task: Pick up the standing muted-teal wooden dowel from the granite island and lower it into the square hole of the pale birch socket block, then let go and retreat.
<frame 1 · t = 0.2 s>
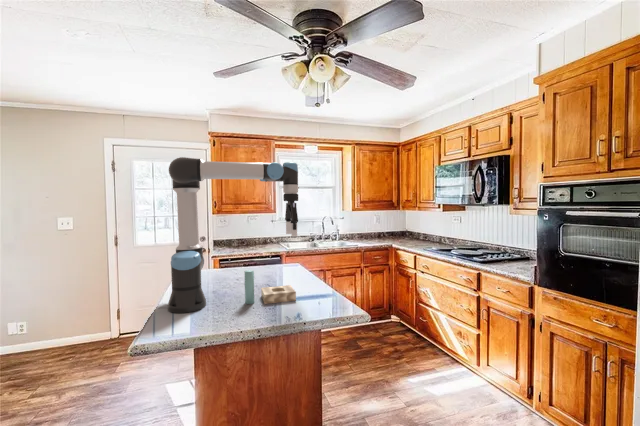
hand: (291, 235, 161), 27 cm above the countertop, fingers open, 13 cm apart
dowel: (249, 302, 140), on the countertop
socket block: (278, 298, 146), on the countertop
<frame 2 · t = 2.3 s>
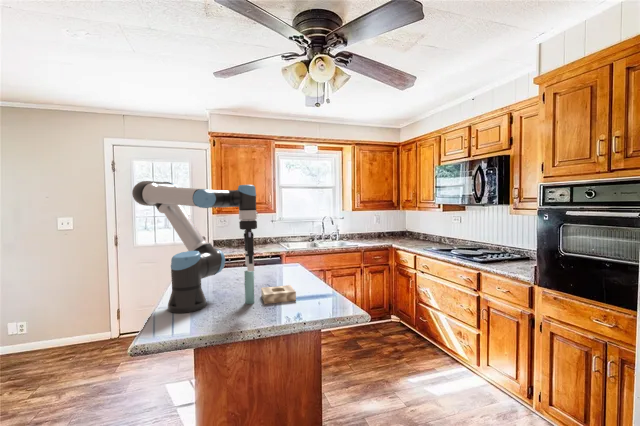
hand: (249, 268, 140), 15 cm above the countertop, fingers open, 13 cm apart
nothing on the countertop moved.
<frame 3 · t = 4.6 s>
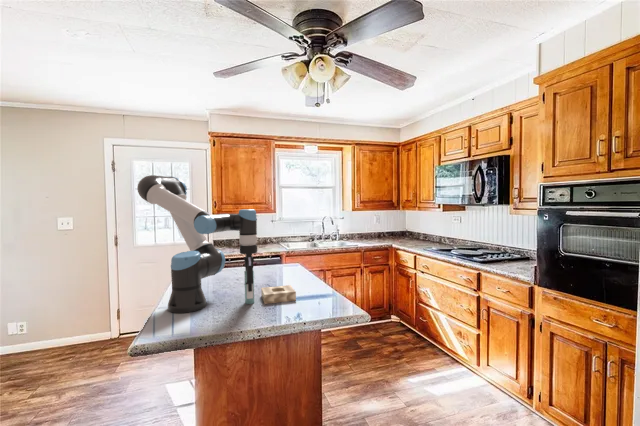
hand: (249, 296, 140), 3 cm above the countertop, fingers closed on dowel, 4 cm apart
dowel: (249, 302, 140), on the countertop, touching gripper
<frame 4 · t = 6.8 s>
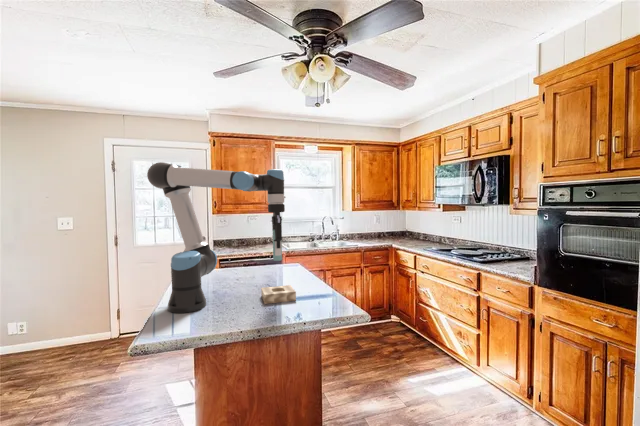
hand: (277, 254, 145), 20 cm above the countertop, fingers closed on dowel, 4 cm apart
dowel: (277, 260, 145), point 18 cm above the countertop, touching gripper
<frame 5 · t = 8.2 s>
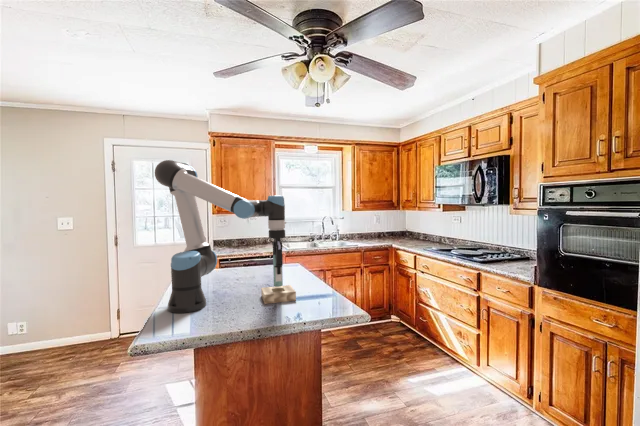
hand: (277, 279, 146), 9 cm above the countertop, fingers closed on dowel, 4 cm apart
dowel: (278, 285, 146), point 6 cm above the countertop, touching gripper
when the fingers open (5 cm above the countertop, at t = 9.1 s): dowel drops 2 cm, resting in socket block.
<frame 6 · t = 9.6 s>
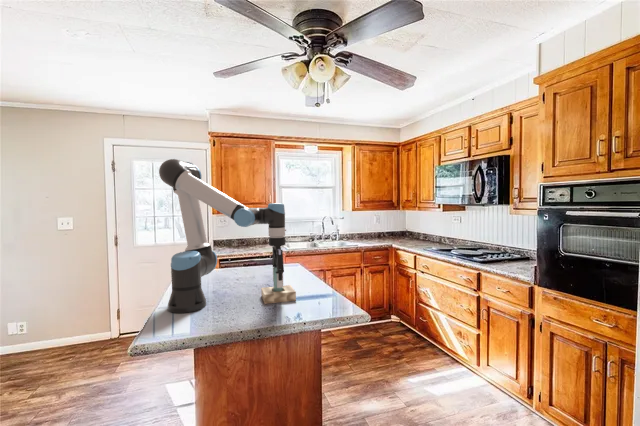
hand: (278, 284, 146), 7 cm above the countertop, fingers open, 11 cm apart
dowel: (278, 298, 146), resting in socket block
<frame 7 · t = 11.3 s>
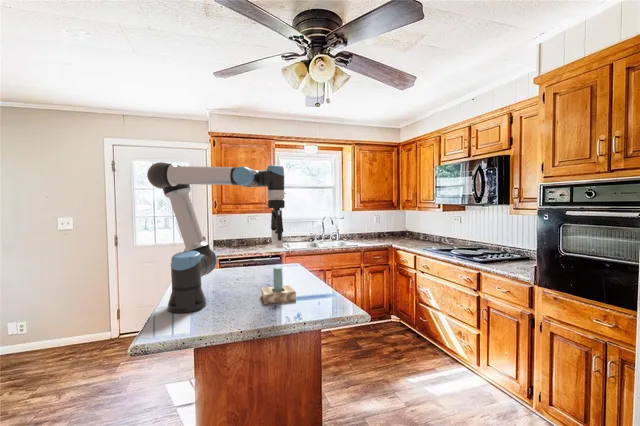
hand: (276, 245, 145), 24 cm above the countertop, fingers open, 13 cm apart
nothing on the countertop moved.
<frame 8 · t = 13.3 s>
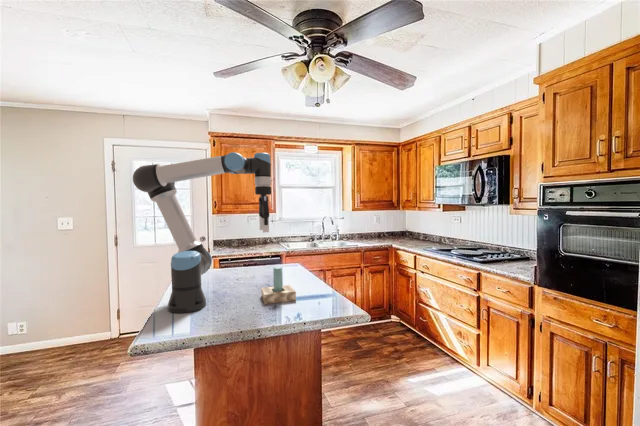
hand: (264, 231, 150), 31 cm above the countertop, fingers open, 13 cm apart
nothing on the countertop moved.
at the end: dowel 0.1 cm off-centre on the socket block, point 0.0 cm above the socket block's base; dowel tilted 0°; the gripper is holding nothing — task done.
